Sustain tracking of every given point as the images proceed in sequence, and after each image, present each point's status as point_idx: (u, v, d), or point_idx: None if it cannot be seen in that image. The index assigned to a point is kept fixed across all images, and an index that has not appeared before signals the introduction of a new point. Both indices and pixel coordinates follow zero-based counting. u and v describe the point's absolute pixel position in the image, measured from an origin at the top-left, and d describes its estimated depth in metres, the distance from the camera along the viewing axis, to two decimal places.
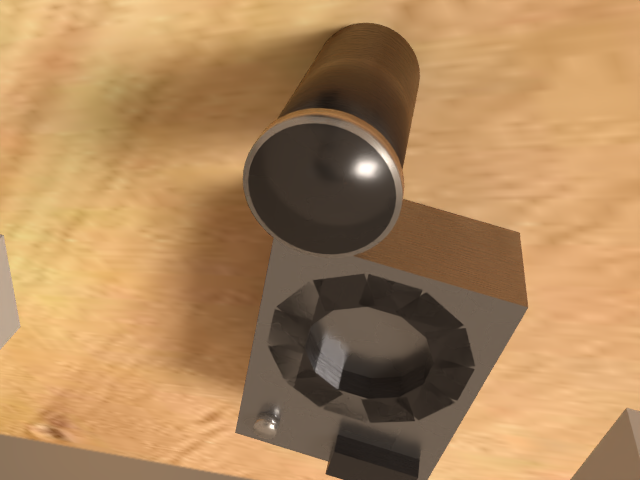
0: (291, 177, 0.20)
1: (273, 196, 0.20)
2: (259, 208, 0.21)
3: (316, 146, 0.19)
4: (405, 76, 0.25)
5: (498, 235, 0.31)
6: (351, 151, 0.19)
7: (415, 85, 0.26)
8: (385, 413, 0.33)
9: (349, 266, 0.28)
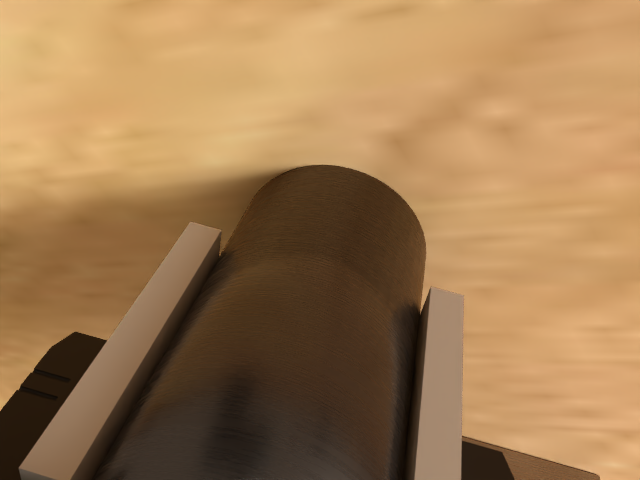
0: None
1: None
2: None
3: None
4: (397, 302, 0.12)
5: None
6: None
7: (418, 294, 0.13)
8: None
9: None
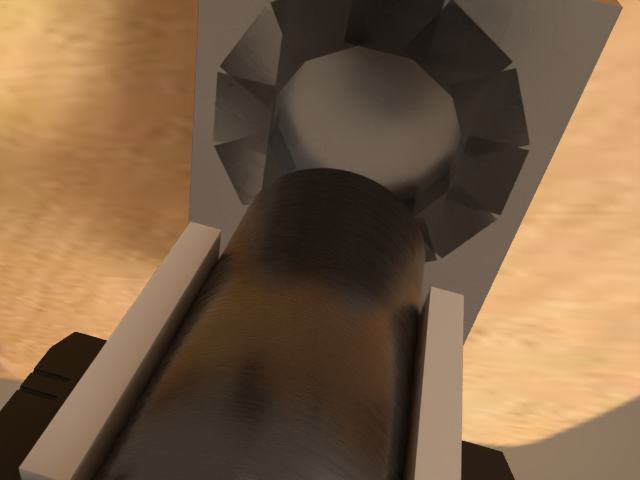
0: None
1: None
2: None
3: None
4: (396, 306, 0.12)
5: None
6: None
7: (417, 297, 0.13)
8: None
9: None
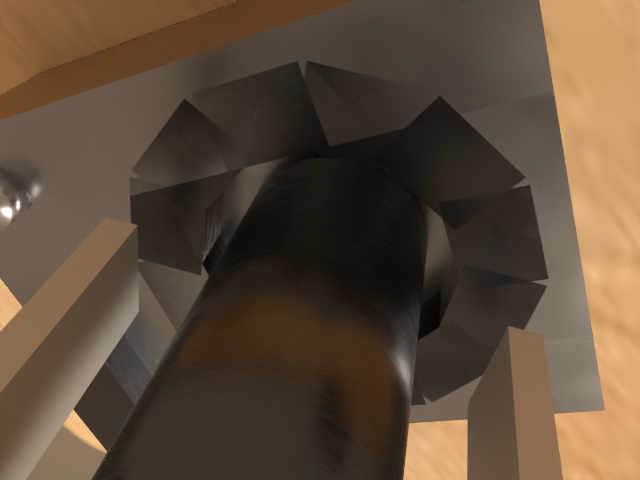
0: None
1: None
2: None
3: None
4: (400, 287, 0.12)
5: None
6: None
7: (420, 281, 0.14)
8: None
9: (527, 144, 0.12)
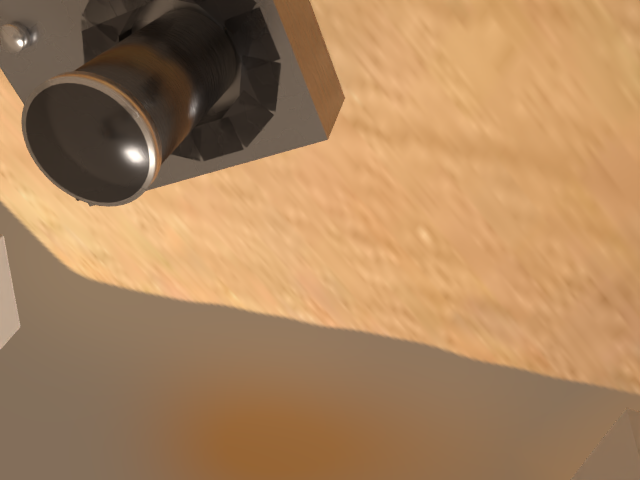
0: (61, 134, 0.23)
1: (51, 152, 0.23)
2: (43, 164, 0.24)
3: (72, 103, 0.22)
4: (199, 51, 0.28)
5: (335, 84, 0.35)
6: (100, 106, 0.22)
7: (218, 60, 0.29)
8: None
9: None
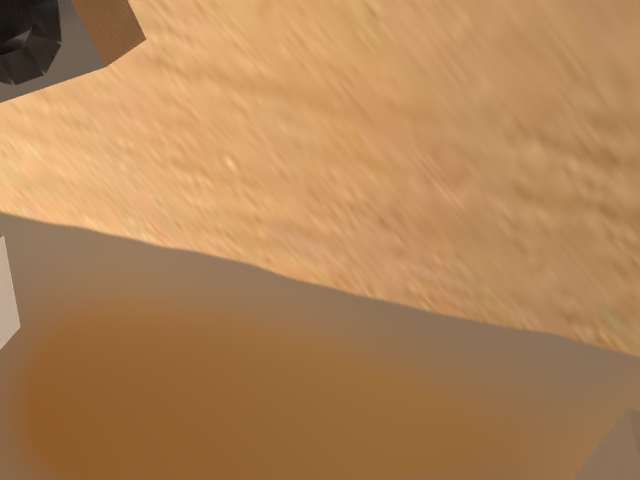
0: None
1: None
2: None
3: None
4: None
5: (132, 26, 0.42)
6: None
7: None
8: None
9: None
